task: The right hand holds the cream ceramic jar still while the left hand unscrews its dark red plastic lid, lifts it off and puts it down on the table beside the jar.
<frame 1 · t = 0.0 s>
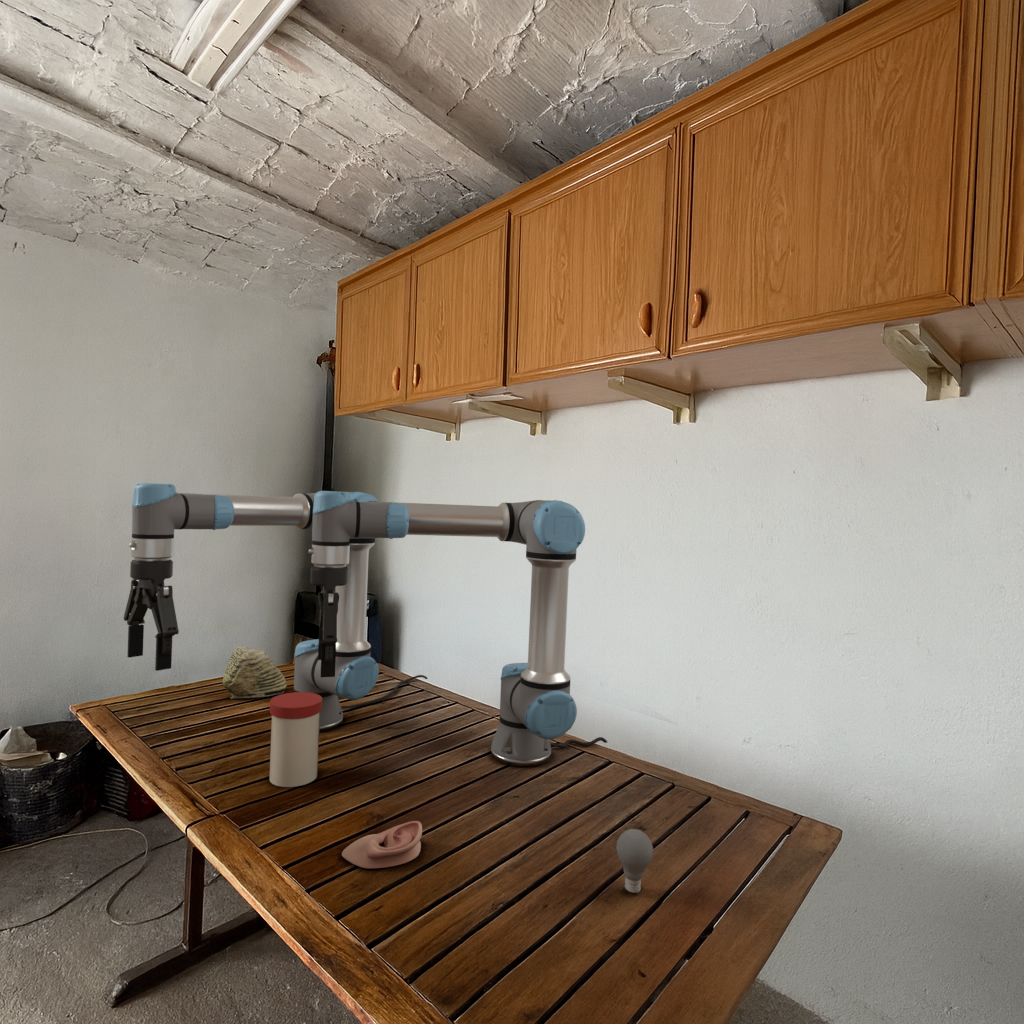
left hand: (148, 662, 129), 28 cm above the table, tool pointing down, fingers open, 13 cm apart
right hand: (326, 667, 131), 28 cm above the table, tool pointing down, fingers open, 13 cm apart
anatomical model: (382, 852, 114), on the table
light bulb: (632, 891, 106), on the table
jar: (293, 776, 143), on the table
lid: (296, 701, 142), point 17 cm above the table, screwed on, not yet turned
fossil: (254, 694, 198), on the table
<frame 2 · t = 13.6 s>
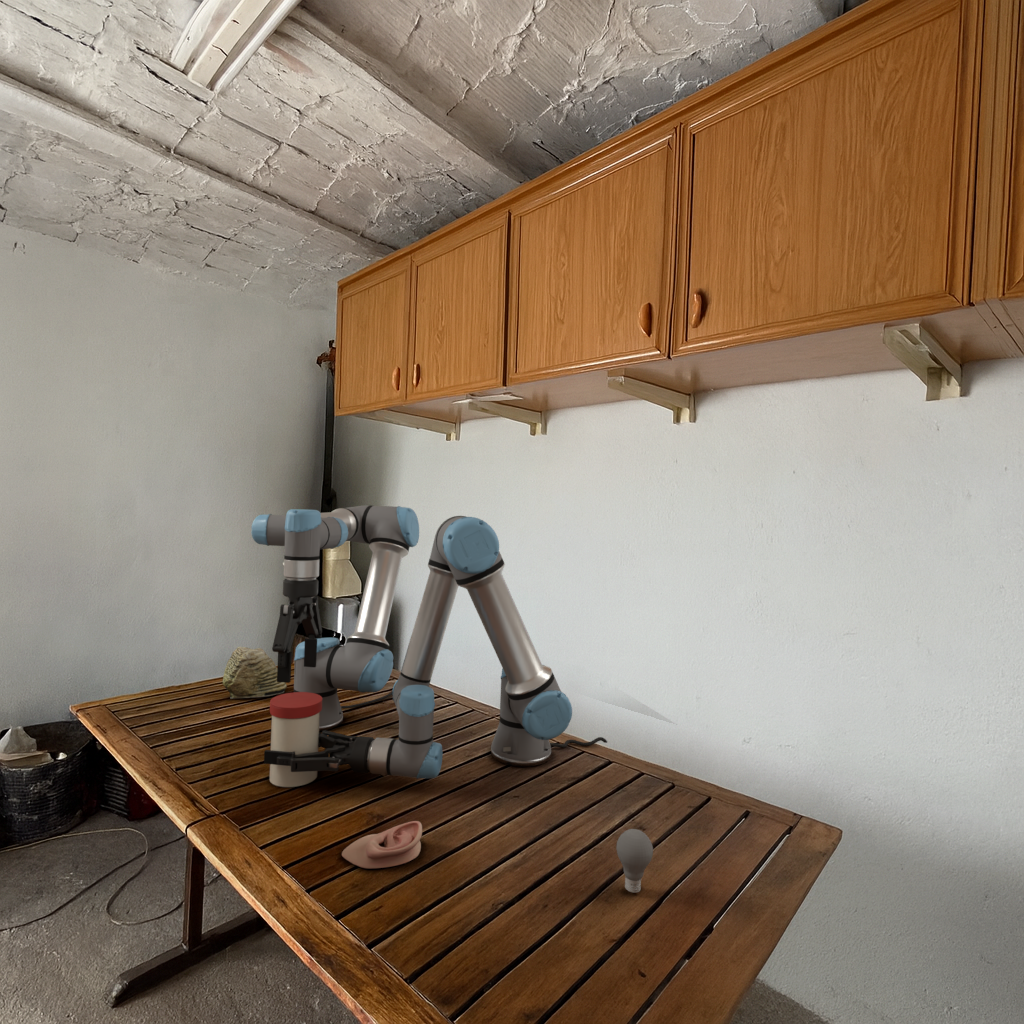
left hand: (297, 674, 142), 23 cm above the table, tool pointing down, fingers open, 12 cm apart
right hand: (276, 747, 143), 6 cm above the table, tool horizontal, fingers closed on jar, 10 cm apart
jar: (293, 776, 143), on the table, touching right hand
everything else where it was.
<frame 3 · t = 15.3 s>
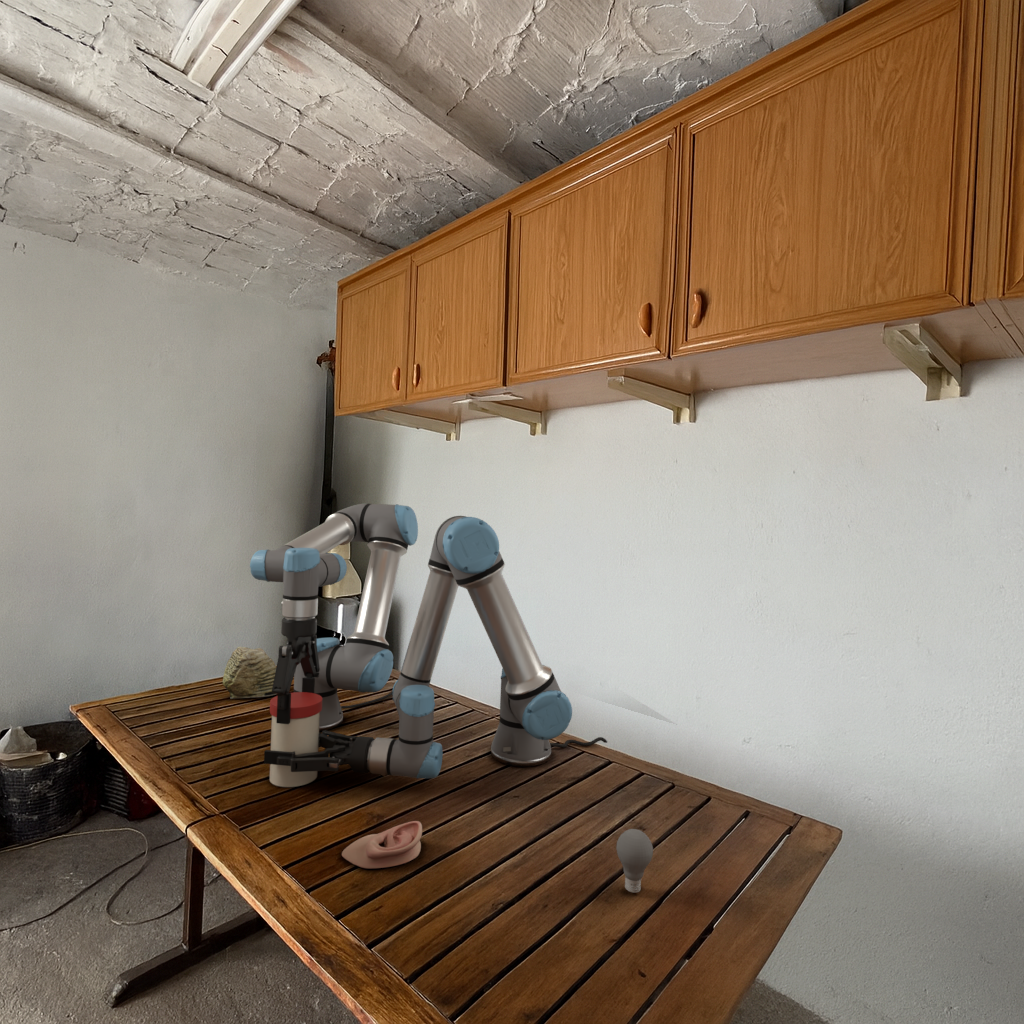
left hand: (295, 714, 142), 14 cm above the table, tool pointing down, fingers closed on lid, 11 cm apart
right hand: (276, 747, 143), 6 cm above the table, tool horizontal, fingers closed on jar, 10 cm apart
jar: (293, 776, 143), on the table, touching right hand
lid: (296, 701, 142), point 17 cm above the table, screwed on, not yet turned, touching left hand
everything else where it was.
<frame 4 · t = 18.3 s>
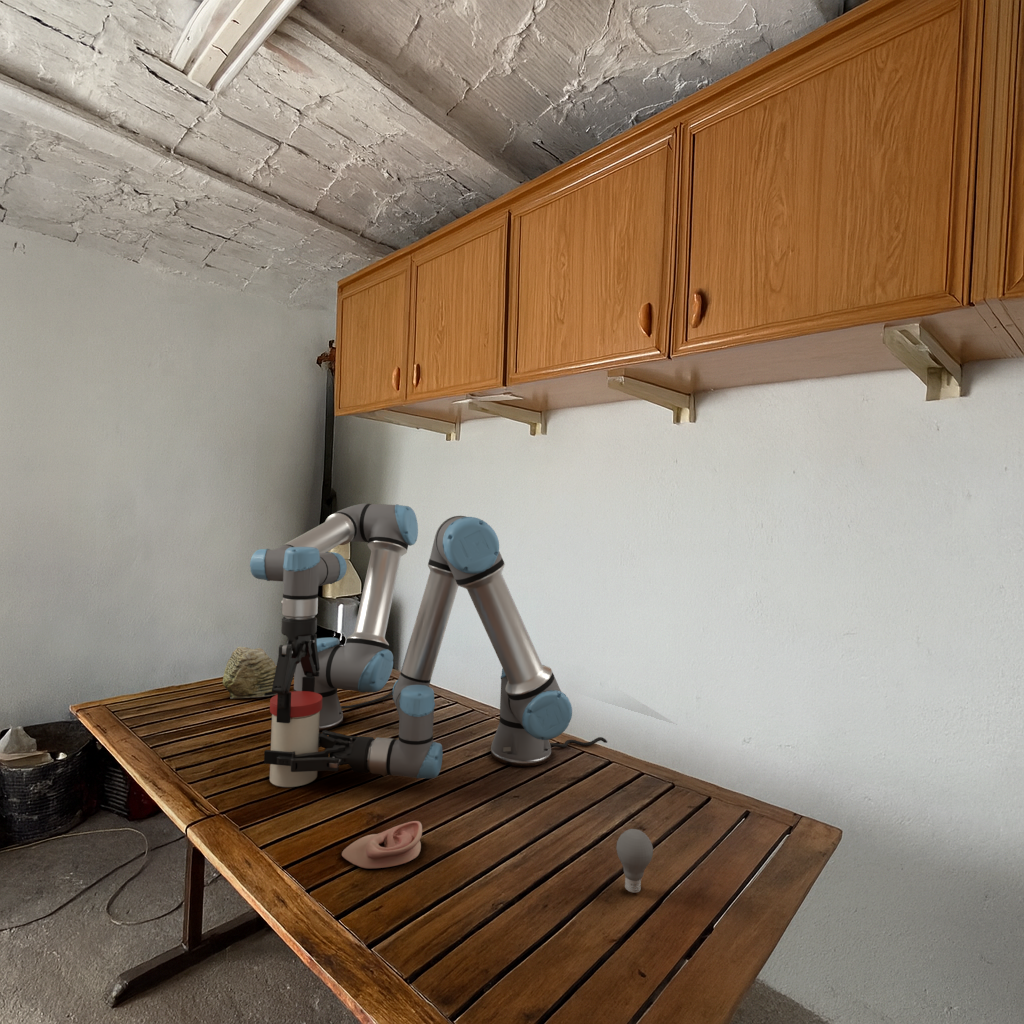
left hand: (296, 713, 142), 14 cm above the table, tool pointing down, fingers closed on lid, 11 cm apart
right hand: (276, 747, 143), 6 cm above the table, tool horizontal, fingers closed on jar, 10 cm apart
jar: (293, 776, 143), on the table, touching right hand
lid: (296, 700, 142), point 17 cm above the table, turned 79° so far, risen 0.3 cm, still on its thread, touching left hand
everything else where it was.
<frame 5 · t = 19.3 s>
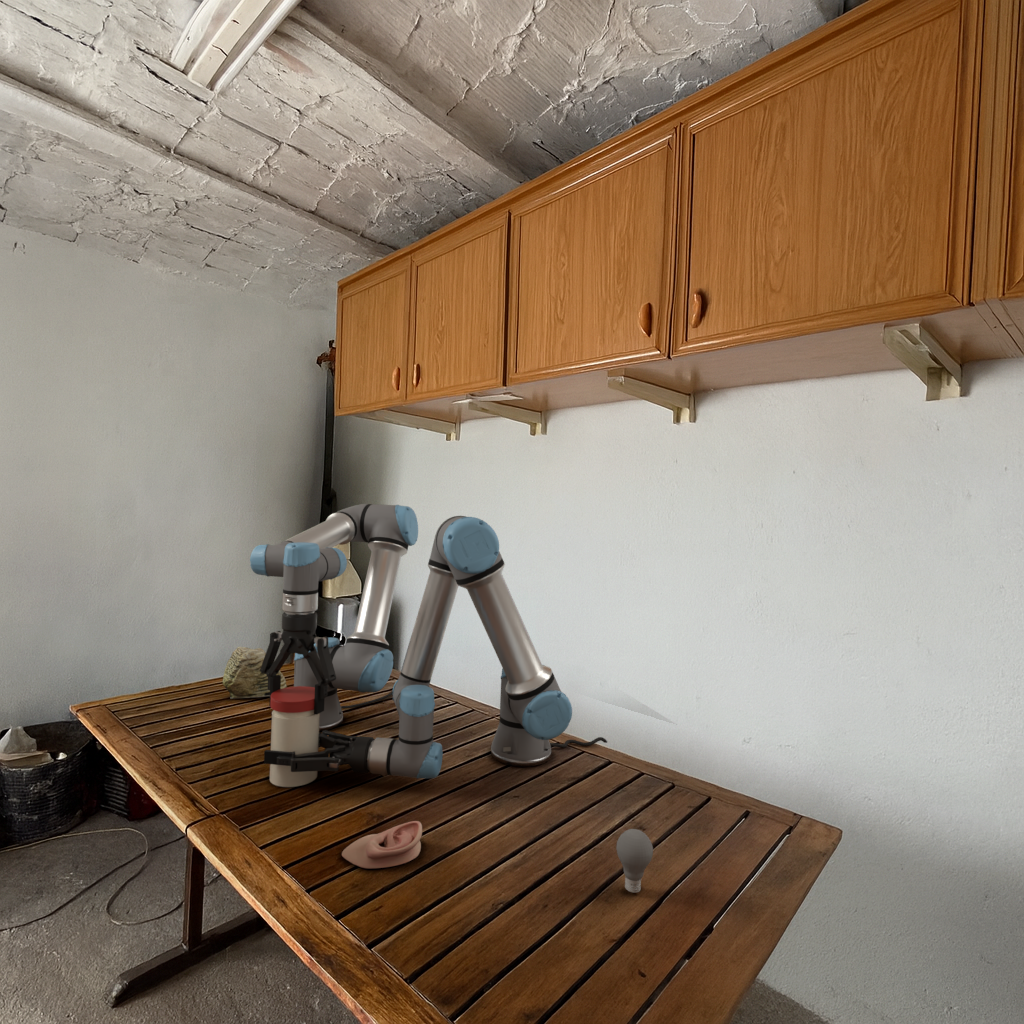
left hand: (296, 708, 142), 15 cm above the table, tool pointing down, fingers closed on lid, 11 cm apart
right hand: (276, 747, 143), 6 cm above the table, tool horizontal, fingers closed on jar, 10 cm apart
jar: (293, 776, 143), on the table, touching right hand
lid: (297, 695, 142), point 18 cm above the table, off its thread, touching left hand
everything else where it was.
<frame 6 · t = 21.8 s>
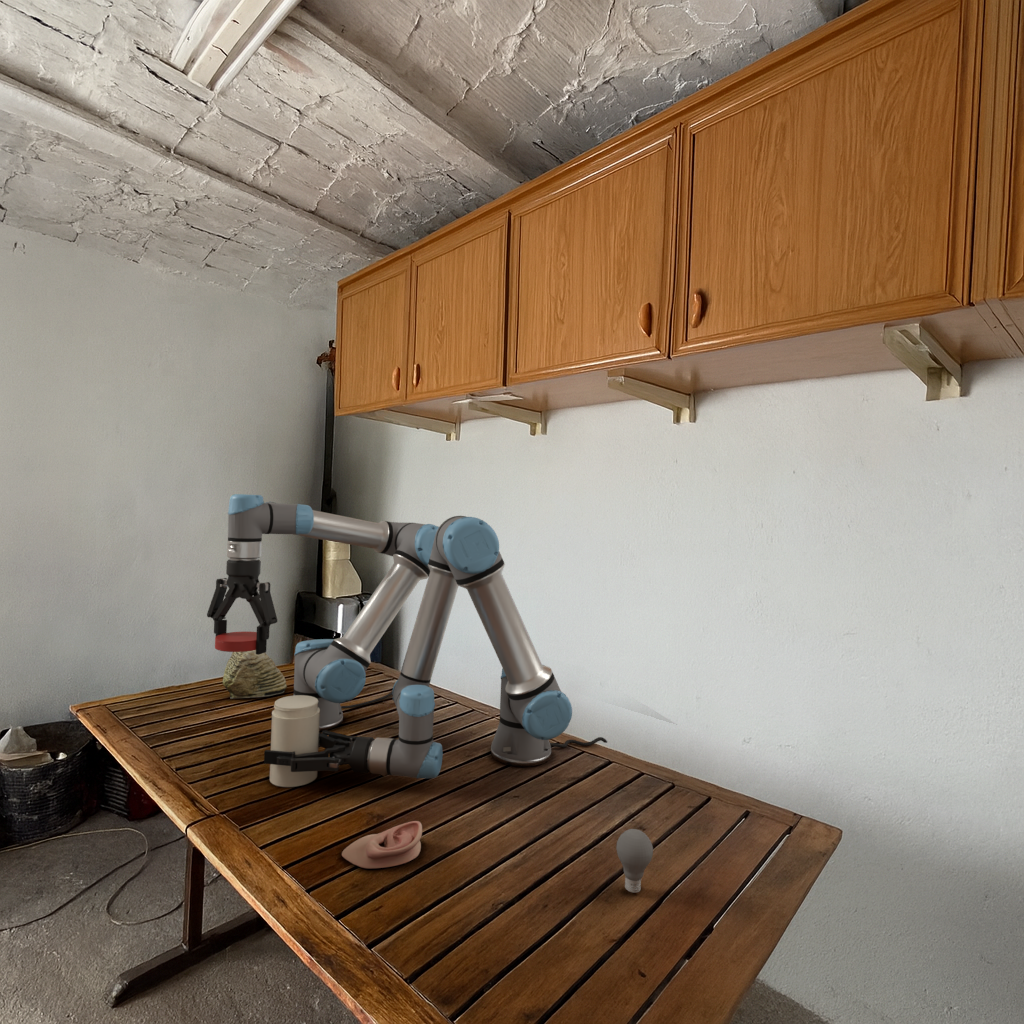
left hand: (240, 650, 151), 26 cm above the table, tool pointing down, fingers closed on lid, 11 cm apart
right hand: (276, 747, 143), 6 cm above the table, tool horizontal, fingers closed on jar, 10 cm apart
jar: (293, 776, 143), on the table, touching right hand
lid: (240, 637, 151), point 29 cm above the table, off its thread, touching left hand
everything else where it was.
when the left hand's fingers open (0 cm above the table, at t = 25.6 s): lid drops 1 cm, point 2 cm above the table.
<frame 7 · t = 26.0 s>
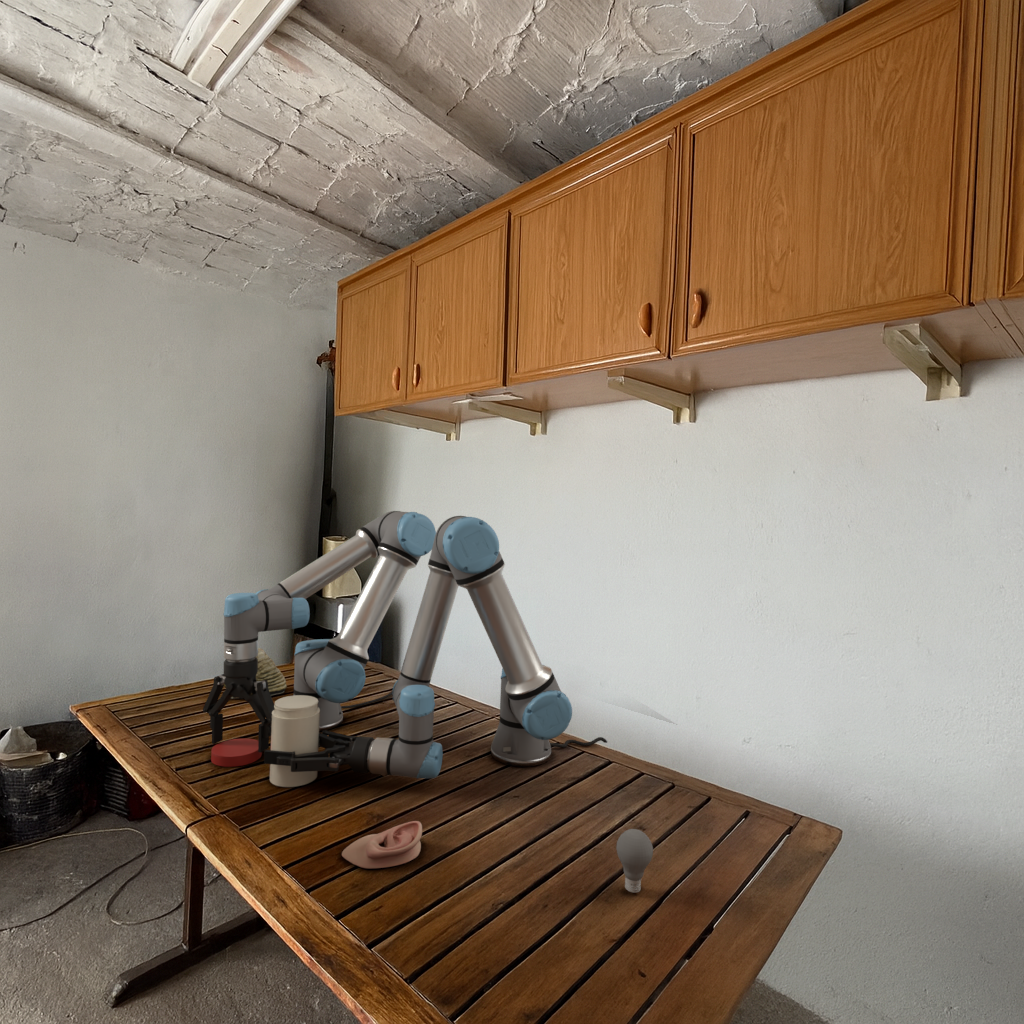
left hand: (240, 746, 152), 3 cm above the table, tool pointing down, fingers open, 13 cm apart
right hand: (276, 747, 143), 6 cm above the table, tool horizontal, fingers closed on jar, 10 cm apart
jar: (293, 776, 143), on the table, touching right hand
lid: (237, 748, 152), point 2 cm above the table, off its thread
everything else where it was.
when the right hand's fingers open (6 cm above the table, at t = 26.6 s): jar stays where it is, on the table.
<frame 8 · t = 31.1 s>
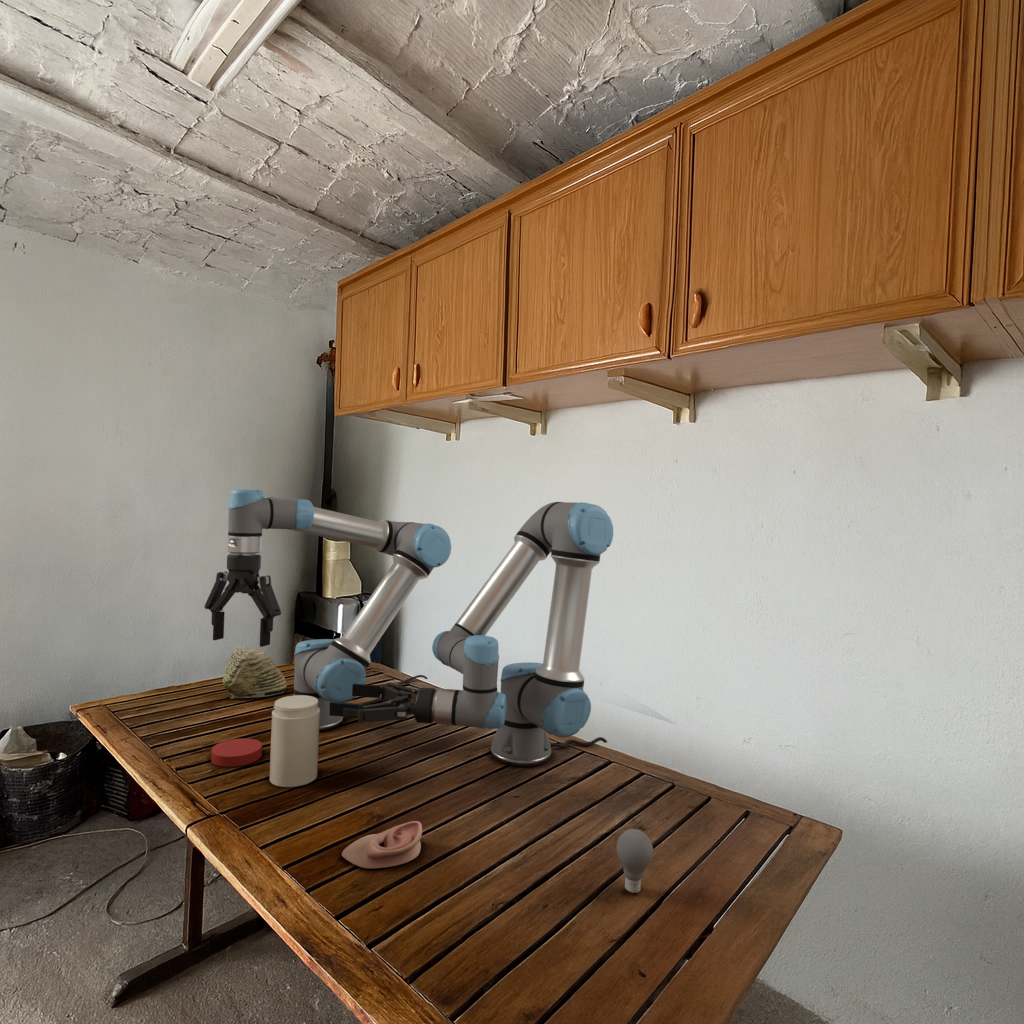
left hand: (241, 642, 151), 28 cm above the table, tool pointing down, fingers open, 13 cm apart
right hand: (341, 698, 141), 18 cm above the table, tool horizontal, fingers open, 13 cm apart
jar: (293, 776, 143), on the table
everything else where it was.
at the end: lid came off its thread; lid point 2.1 cm above the table; the left hand is holding nothing; the right hand is holding nothing; jar tilted 0°; jar moved 0.0 cm from its start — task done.
